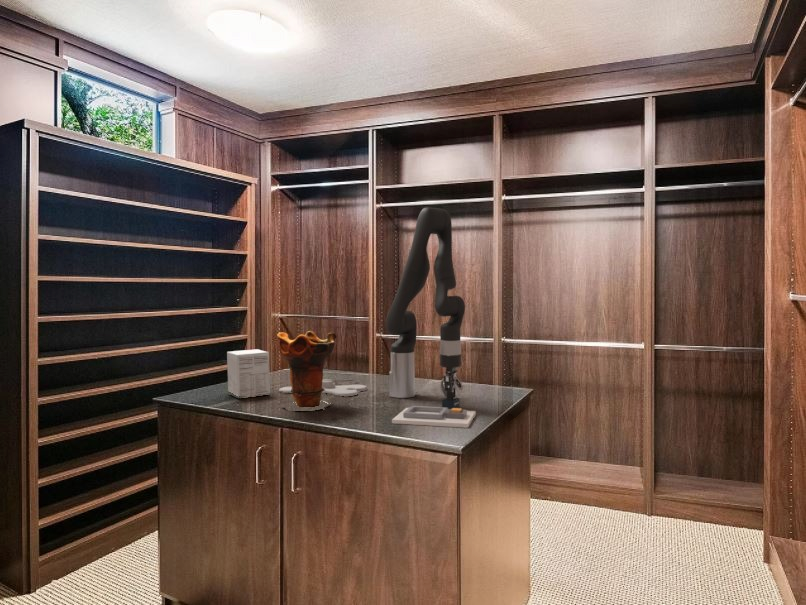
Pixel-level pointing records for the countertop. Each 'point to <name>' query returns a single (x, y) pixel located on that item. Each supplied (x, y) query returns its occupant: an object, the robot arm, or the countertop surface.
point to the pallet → (434, 417)
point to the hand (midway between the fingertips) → (451, 401)
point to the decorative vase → (306, 365)
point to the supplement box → (248, 372)
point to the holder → (335, 388)
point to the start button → (456, 410)
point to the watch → (456, 401)
